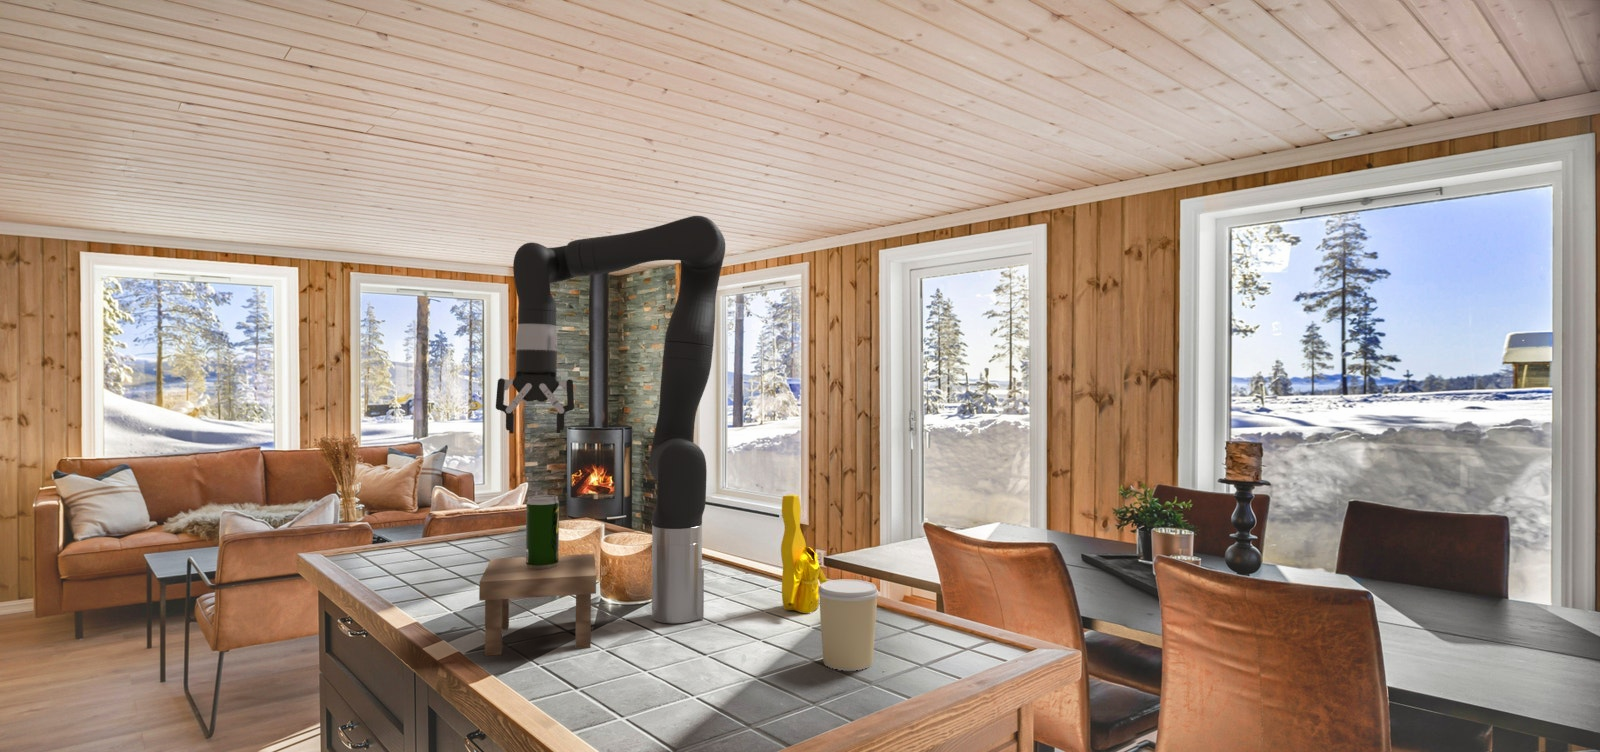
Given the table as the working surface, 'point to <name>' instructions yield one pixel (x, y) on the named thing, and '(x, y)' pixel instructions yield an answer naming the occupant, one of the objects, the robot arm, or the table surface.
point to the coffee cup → (848, 623)
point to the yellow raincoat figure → (798, 562)
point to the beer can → (542, 532)
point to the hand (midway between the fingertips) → (535, 433)
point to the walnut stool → (536, 592)
